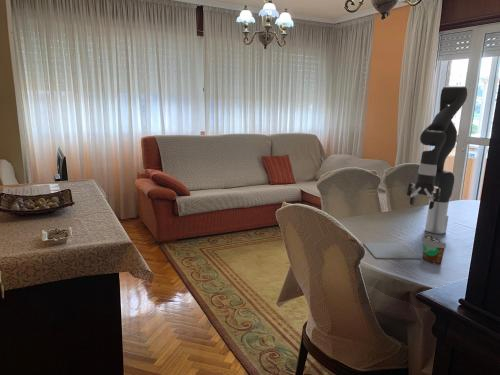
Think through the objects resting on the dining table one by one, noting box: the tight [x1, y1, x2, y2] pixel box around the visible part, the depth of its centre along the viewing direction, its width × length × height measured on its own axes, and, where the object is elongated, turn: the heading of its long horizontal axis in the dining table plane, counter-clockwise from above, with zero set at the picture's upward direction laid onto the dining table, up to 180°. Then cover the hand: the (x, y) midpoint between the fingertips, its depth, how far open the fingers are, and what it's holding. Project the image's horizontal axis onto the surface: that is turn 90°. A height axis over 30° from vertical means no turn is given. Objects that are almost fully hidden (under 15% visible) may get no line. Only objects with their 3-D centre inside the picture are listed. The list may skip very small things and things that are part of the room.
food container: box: [421, 233, 447, 265], centre depth 160 cm, size 12×6×10 cm, turn 5°
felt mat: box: [362, 242, 422, 260], centre depth 170 cm, size 20×17×1 cm
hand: (421, 207), depth 175 cm, fingers open, 8 cm apart
